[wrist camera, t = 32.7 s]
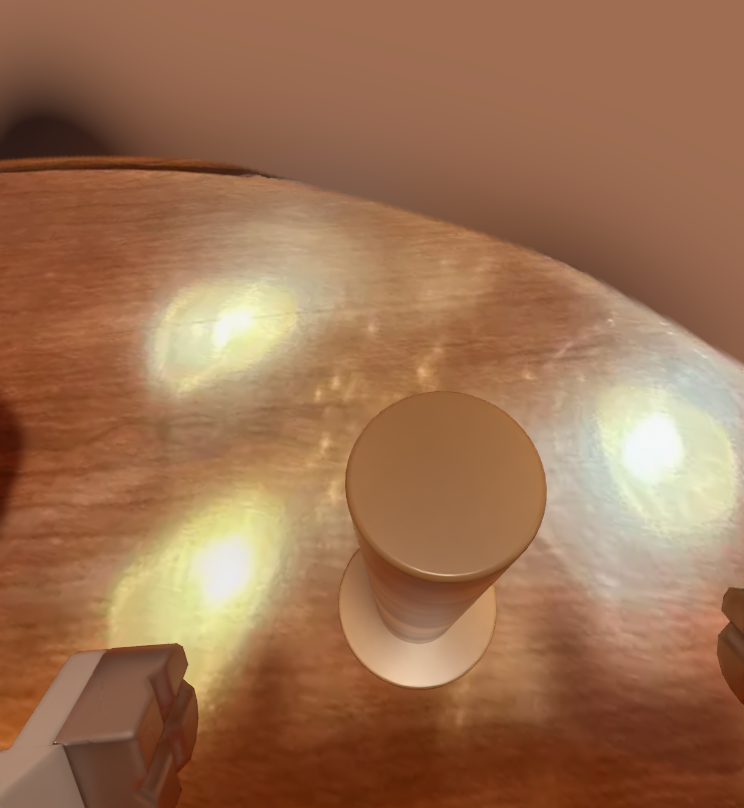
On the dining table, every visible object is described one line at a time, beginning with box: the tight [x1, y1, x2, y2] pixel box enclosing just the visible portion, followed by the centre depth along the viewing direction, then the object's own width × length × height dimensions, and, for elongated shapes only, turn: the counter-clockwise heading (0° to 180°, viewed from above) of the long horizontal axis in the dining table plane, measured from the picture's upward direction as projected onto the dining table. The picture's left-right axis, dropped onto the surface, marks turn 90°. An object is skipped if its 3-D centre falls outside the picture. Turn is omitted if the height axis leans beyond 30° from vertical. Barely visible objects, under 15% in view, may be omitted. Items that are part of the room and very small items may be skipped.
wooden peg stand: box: [338, 391, 547, 690], centre depth 13 cm, size 5×5×14 cm
